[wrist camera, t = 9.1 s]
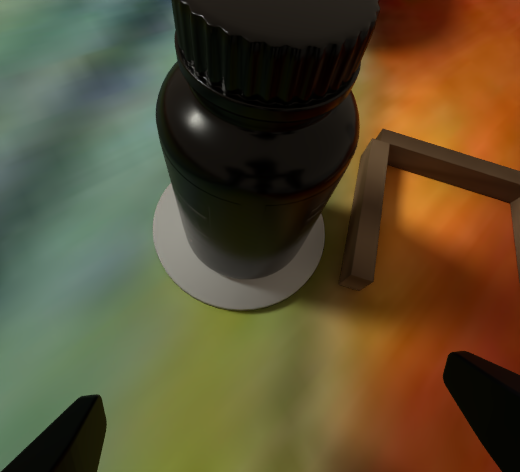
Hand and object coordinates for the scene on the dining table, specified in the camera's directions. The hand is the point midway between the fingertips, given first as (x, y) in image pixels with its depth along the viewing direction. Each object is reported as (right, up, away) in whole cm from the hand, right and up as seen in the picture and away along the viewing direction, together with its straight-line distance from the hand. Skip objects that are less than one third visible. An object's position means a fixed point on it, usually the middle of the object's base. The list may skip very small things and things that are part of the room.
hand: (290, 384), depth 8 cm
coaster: (-2, +4, +10) cm, 11 cm away
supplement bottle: (-2, +4, +10) cm, 11 cm away
